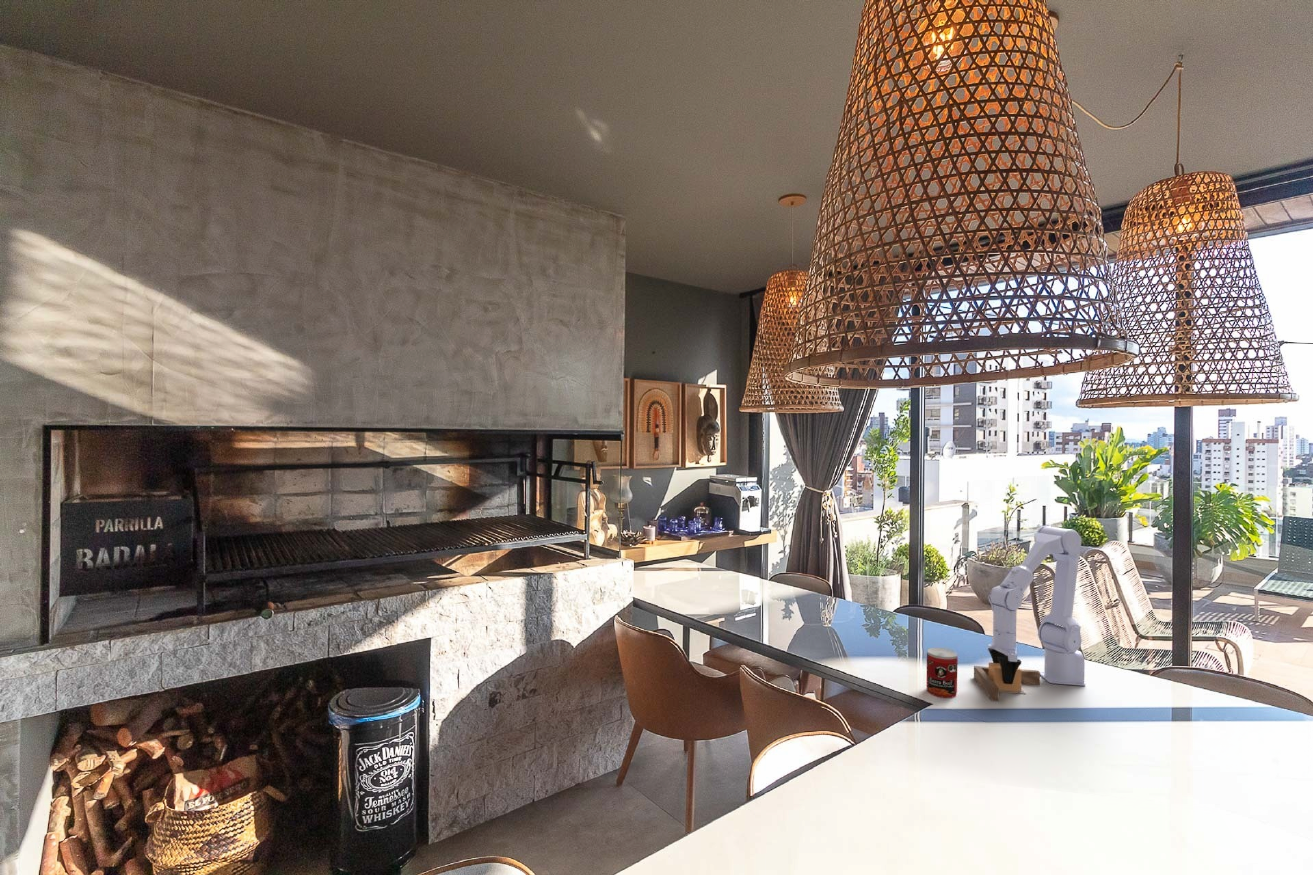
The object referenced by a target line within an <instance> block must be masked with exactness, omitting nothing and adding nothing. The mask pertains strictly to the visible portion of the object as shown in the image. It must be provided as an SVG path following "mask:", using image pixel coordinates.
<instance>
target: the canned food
mask: <svg viewBox="0 0 1313 875" xmlns="http://www.w3.org/2000/svg"><path fill="white" fill-rule="evenodd" d="M958 660H959V659H958V652H956V651H954V650H951V649H949V648H943V647H931V648H928V649H927V651H926V691H927V693H928V694H930V695H932V696H935V697H938V698H943V699H944V698H946V699H948V698H949V699H950V698H954V697H956V695H957V693H958V665H959V663H958Z"/></svg>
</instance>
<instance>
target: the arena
mask: <svg viewBox="0 0 1313 875" xmlns="http://www.w3.org/2000/svg"><path fill="white" fill-rule="evenodd" d="M1020 669H1021V684H1022V685H1023V684H1026V685H1036V686H1037V685H1038V686H1040V683H1041V675H1040V672H1041V671H1039V670H1034V669H1033V670H1032V669H1022V668H1020ZM988 673H989V666H980V665H973V679H974V680H975V681H976V682H977V684H978V685H979V686H980V687H981V688H982V690H983V691H984V693H986V695H987V696H988V697H989V698H990V700H991V701H992V702H999V700H1000V699H999V697H1000V694H999V693H1000V692H999V688H998V686H997V685H996V684H995V683H994V682H993V681H992V680H991V679H990V677H989V676H988Z"/></svg>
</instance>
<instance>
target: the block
mask: <svg viewBox="0 0 1313 875" xmlns="http://www.w3.org/2000/svg"><path fill="white" fill-rule="evenodd" d="M988 667H989V673H988V676H989V677H990V679H991V680H992V681H993V682H994V683H995V684H996V685H997V686H998V688H999V690H1005V691H1019V692H1021V689H1022V683H1021V669H1022V668H1021V667H1020V666H1019V667H1018V669H1017V671H1016V674H1015V677H1014V681H1013V683H1012V684H1004V683H1003V679H1002V671H1001V666H1000V663H993V662H988Z"/></svg>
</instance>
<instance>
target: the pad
mask: <svg viewBox="0 0 1313 875" xmlns="http://www.w3.org/2000/svg"><path fill="white" fill-rule="evenodd" d="M999 693H1005V694H1006V693H1009V694H1019V695H1026V694H1027V693H1026V692H1025V691H1024V690H1023V689H1022V688H1021V692H1019V691H1005V690H999Z"/></svg>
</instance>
